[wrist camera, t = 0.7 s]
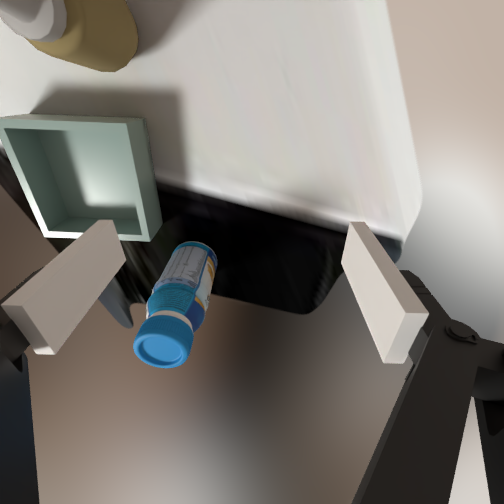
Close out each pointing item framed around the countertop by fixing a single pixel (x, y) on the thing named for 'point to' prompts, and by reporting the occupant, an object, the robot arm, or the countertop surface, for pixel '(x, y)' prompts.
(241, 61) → the countertop surface
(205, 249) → the beverage bottle
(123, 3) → the squeeze bottle
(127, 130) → the box
